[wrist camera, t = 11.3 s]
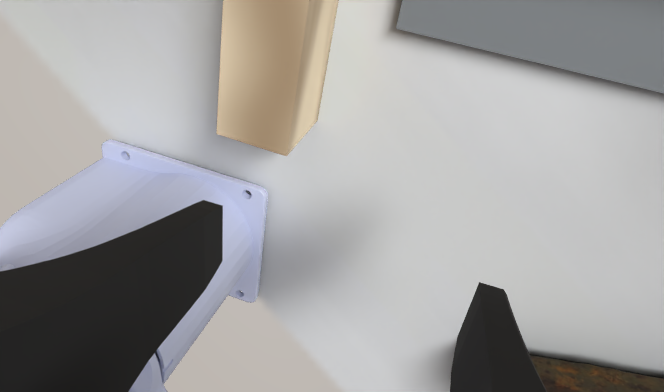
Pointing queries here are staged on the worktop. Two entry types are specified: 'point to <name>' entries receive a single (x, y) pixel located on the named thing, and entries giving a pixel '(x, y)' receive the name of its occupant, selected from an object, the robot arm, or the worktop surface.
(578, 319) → the worktop surface
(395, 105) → the worktop surface
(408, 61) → the worktop surface
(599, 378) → the brown wooden log
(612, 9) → the mat
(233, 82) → the tan wooden plank
